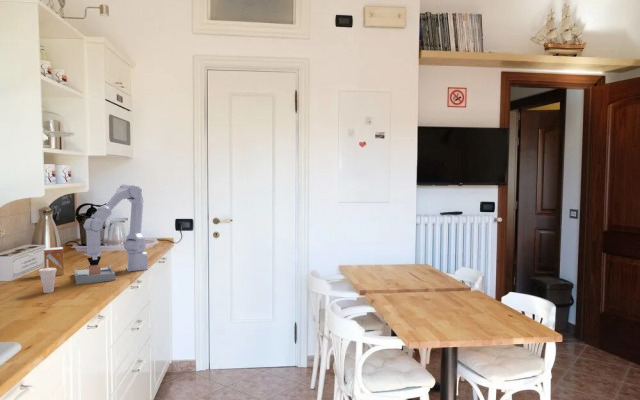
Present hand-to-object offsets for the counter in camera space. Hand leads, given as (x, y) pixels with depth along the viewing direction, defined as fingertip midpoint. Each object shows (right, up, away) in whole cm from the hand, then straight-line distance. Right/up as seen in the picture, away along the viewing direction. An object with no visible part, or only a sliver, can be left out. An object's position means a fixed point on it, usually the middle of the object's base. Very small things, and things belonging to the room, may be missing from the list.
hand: (94, 272), depth 209 cm
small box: (-24, -3, +8) cm, 25 cm away
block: (+1, -1, -2) cm, 3 cm away
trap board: (-1, -3, +3) cm, 4 cm away
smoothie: (-8, -5, -22) cm, 24 cm away
